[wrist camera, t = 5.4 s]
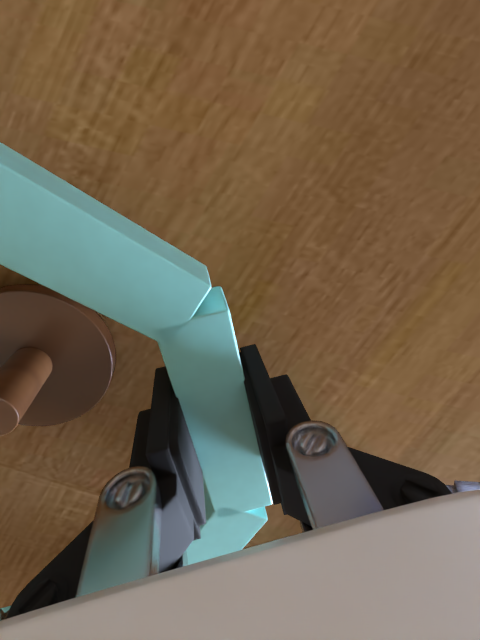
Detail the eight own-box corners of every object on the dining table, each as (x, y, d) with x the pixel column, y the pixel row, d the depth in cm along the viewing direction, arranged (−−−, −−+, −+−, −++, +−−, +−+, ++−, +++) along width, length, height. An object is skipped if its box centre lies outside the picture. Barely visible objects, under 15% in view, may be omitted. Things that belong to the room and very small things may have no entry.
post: (-74, 304, 18) (-178, 357, 12) (85, 267, 18) (49, 304, 13) (0, 428, 21) (-58, 510, 16) (134, 393, 21) (120, 462, 16)
